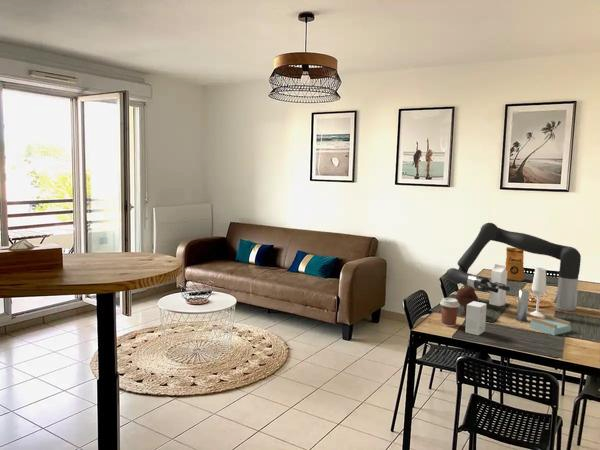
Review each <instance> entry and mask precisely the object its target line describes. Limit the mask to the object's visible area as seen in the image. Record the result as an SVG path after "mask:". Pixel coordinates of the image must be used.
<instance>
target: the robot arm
mask: <svg viewBox="0 0 600 450" xmlns="http://www.w3.org/2000/svg"><path fill="white" fill-rule="evenodd" d="M491 241H493V242H497V243H498V242H499V243H502V244H504V245H507V246H509V247H511V248H517V249H520V250H523V251H524V252H527V253H530V254H535V255H542V256H548V257H551V258H554V259H557V260H560V261H559V262H560V263H559V270H558V280H557V290H556V292H557V293H556V303H555V308H556V309H558V310H561V311H565V312H574V311H576V310H577V303H578V284H579V274H580V270H581V261H582V258H581V257H582V256H581V254H580V251H579V250H578V249H577V248H575V247H572V246H567V245H562V244H557V243H553V242H550V241H549V240H546V239H543V238H540V237H538V236H533V235H531V234H528V233H523V232H518V231H517V232H516V231H510V230H505V229H503V228H501V227H498V226H497V224H496V223H493V222H486V223H484V224H482V226H481V227H480V230H479V233H478V235H477V236H476V238H475V239H474V240H473V242H472V243H471V244H470V246H469V247H468V248H467V249H466V250H465V252H464V253H463V254H462V255H461V257H460V258H459V259H458V261H457V265H458V268H455V267H451V268H449V269H447V270H446V272H445V276H446V279H447V280H449V281H451V282H452V283H453V284H455V285H460V284H461V285H462V286H465V287H466V286H472V287H473V288H474V290H475V291H476V290H478V291H480V292H490V291H492V292H496V293H498V290H499V289H501V290H505V291H506V292H510V290H511V289H510V286H507V285H506V286H505V284H502V283H498V282H495V283H493V282H491V280H489V278H488V277H484V276H482V275H481V276H480V275H478V274H472V273H469V269H470V267H472V265H473V264H474V263H475V261H476V259H477V258H479V256H480V253H481V252H482V251H483V249H484V248H485V247H486V246H487V245H488V244H489V242H491ZM496 287H497V288H496Z"/></svg>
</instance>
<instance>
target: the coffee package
mask: <svg viewBox="0 0 600 450" xmlns="http://www.w3.org/2000/svg"><path fill="white" fill-rule="evenodd" d="M505 249H506V256H505V257H506V258H505V259H506V260H505V269H506V270H507V281H508V280H510V281H516V282H523V280H524V278H525V267H524V257H525V256H524V252H525V251H523V250H520V249H517V248H515V247H511V246H509V247H508V246H506V248H505Z"/></svg>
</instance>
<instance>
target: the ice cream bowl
mask: <svg viewBox="0 0 600 450" xmlns="http://www.w3.org/2000/svg"><path fill="white" fill-rule="evenodd" d="M456 293H457V294H455V299H457V300H458V303H459V304H460V306H462V307H463V311H461V312H459V315H461V316H462V317H463V316H464V317H466V310H467V304H469V303H471V302H473V301H475V302H478V299H479V297H478V295H477V294H476V293H477V292H476V289H474V288H473V287H472V286H465V287H462V288H459V289H458V290H457V292H456Z"/></svg>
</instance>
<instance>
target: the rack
mask: <svg viewBox="0 0 600 450" xmlns="http://www.w3.org/2000/svg"><path fill="white" fill-rule="evenodd" d="M529 328H531V329H533V330H537V331H540V332H543V333H546V334H549V335H551V336H558V335H562V334H565V333H569V332H571V329H572V325H571V321H567V320H564V319H561V318H557V317H554V316H552V315H547V314H544V318H541V319H540V318H539V319H538V318H535V317H531V321H530V326H529Z"/></svg>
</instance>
